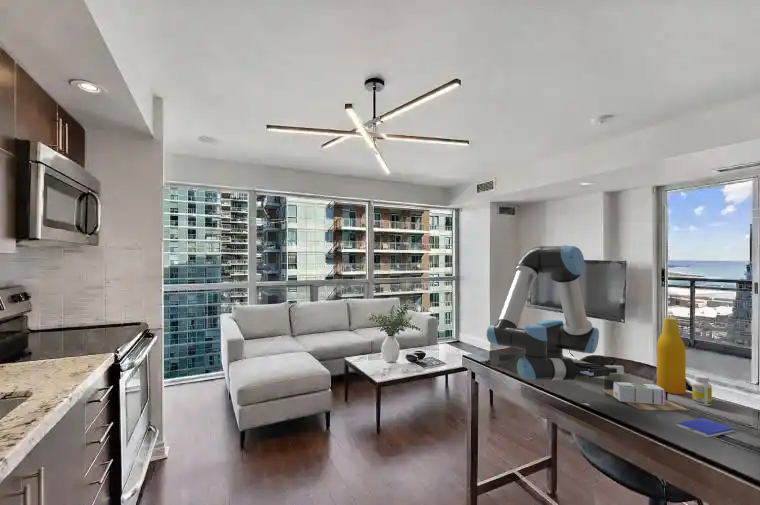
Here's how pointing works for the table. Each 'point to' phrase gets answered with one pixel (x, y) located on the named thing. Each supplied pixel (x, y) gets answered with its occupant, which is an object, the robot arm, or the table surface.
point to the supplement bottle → (702, 391)
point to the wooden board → (652, 405)
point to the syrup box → (639, 393)
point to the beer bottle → (671, 359)
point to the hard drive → (705, 427)
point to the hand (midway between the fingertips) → (622, 369)
